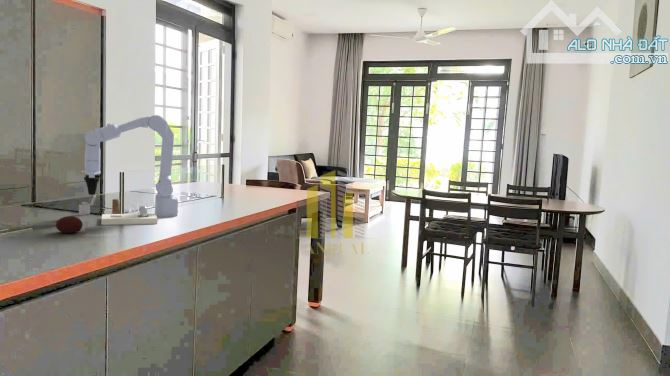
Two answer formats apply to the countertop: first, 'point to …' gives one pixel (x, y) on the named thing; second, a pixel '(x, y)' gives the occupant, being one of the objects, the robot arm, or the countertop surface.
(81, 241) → the countertop surface
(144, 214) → the steel pin
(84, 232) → the countertop surface
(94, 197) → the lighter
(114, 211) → the walnut pin
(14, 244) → the countertop surface
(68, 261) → the countertop surface
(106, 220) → the hole block
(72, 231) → the potato
